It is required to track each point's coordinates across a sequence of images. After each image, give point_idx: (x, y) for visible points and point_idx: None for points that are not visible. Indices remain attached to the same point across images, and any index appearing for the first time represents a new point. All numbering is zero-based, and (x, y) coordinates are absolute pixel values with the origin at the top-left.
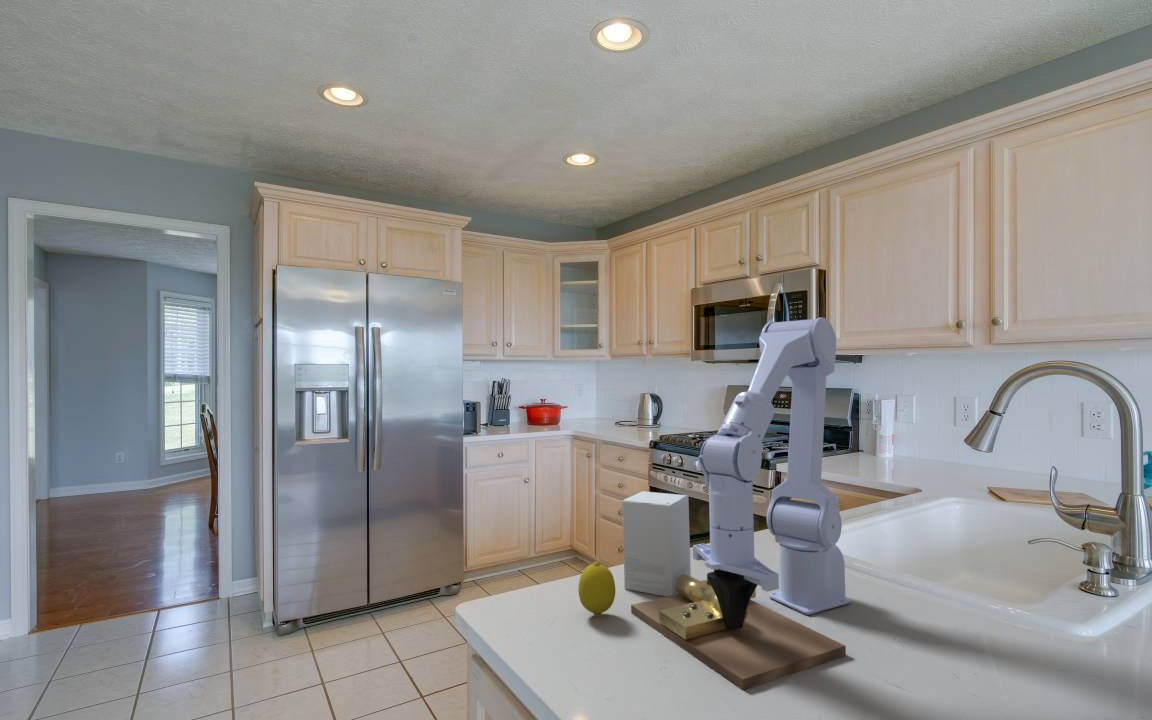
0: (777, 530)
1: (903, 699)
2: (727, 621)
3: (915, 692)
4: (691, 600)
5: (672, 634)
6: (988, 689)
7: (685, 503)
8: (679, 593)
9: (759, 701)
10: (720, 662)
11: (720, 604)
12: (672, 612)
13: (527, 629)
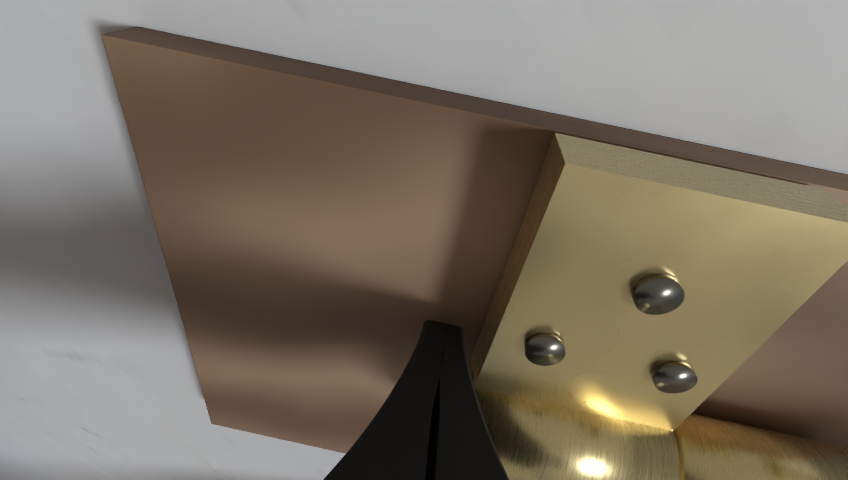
0: None
1: (16, 321)
2: (432, 344)
3: (42, 355)
4: (743, 425)
5: (676, 151)
6: (38, 422)
7: None
8: (836, 446)
9: (44, 10)
10: (277, 85)
11: (467, 413)
12: (762, 265)
13: None
